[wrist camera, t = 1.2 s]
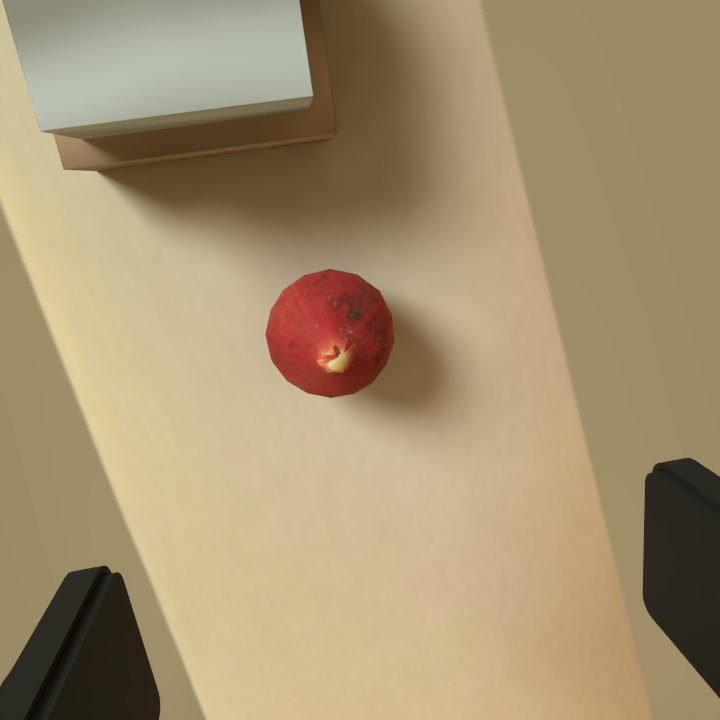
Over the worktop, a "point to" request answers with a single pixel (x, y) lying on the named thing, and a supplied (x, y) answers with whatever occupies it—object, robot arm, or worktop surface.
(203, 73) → the wood and metal block
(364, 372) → the onion
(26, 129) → the worktop surface
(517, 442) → the worktop surface
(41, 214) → the worktop surface
